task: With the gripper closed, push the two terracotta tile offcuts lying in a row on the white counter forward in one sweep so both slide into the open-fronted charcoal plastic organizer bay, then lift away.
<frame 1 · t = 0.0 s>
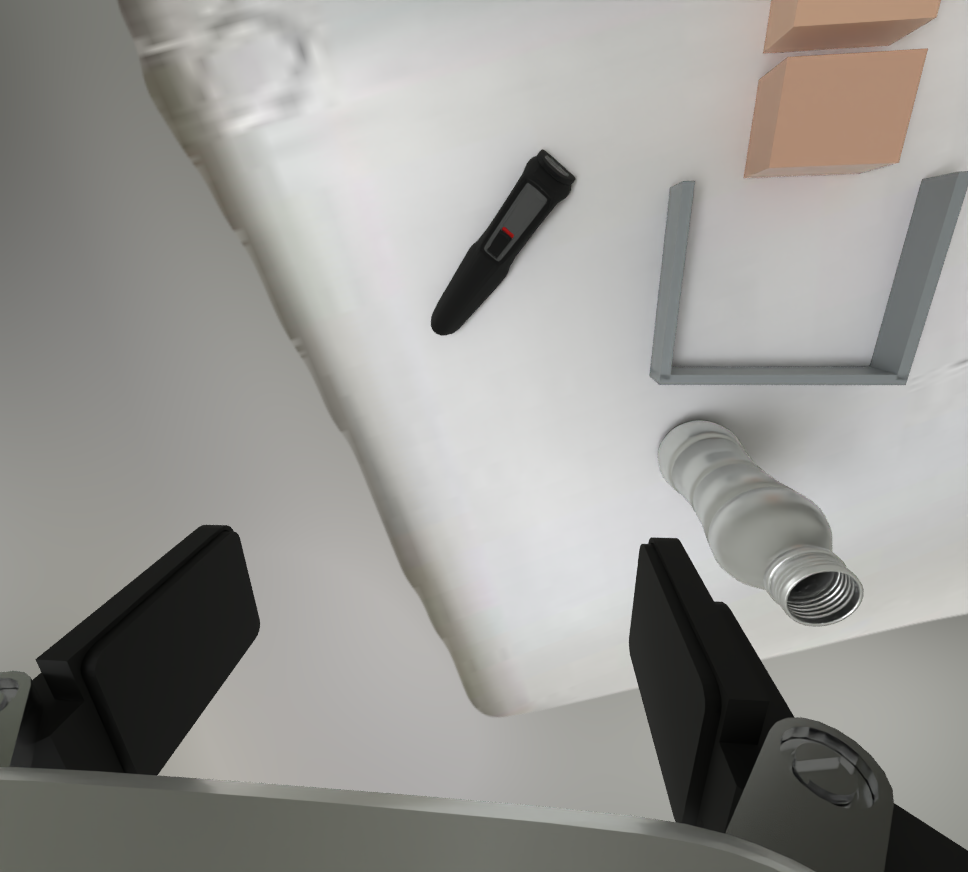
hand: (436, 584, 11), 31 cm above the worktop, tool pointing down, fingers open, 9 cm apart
plastic bottle: (688, 446, 42), on the worktop
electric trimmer: (500, 250, 37), on the worktop
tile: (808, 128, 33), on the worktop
organizer bay: (779, 283, 36), on the worktop
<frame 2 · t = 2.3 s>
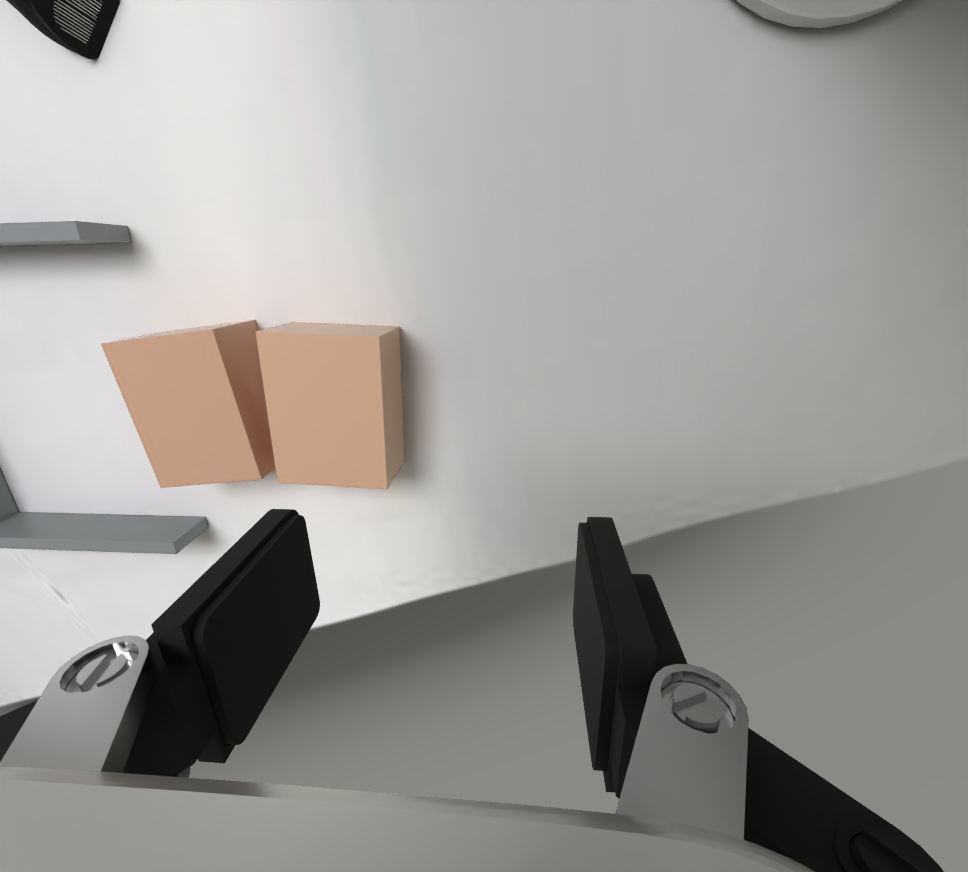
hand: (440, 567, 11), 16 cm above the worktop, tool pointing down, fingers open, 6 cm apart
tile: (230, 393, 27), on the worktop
organizer bay: (65, 394, 28), on the worktop
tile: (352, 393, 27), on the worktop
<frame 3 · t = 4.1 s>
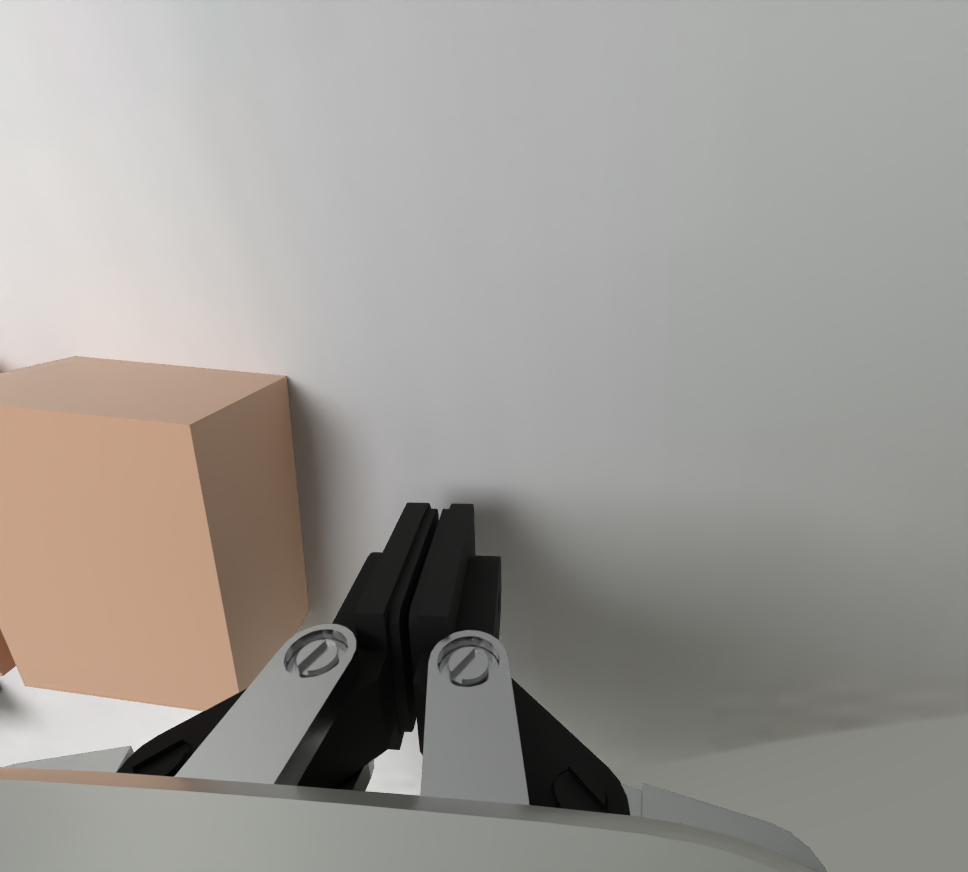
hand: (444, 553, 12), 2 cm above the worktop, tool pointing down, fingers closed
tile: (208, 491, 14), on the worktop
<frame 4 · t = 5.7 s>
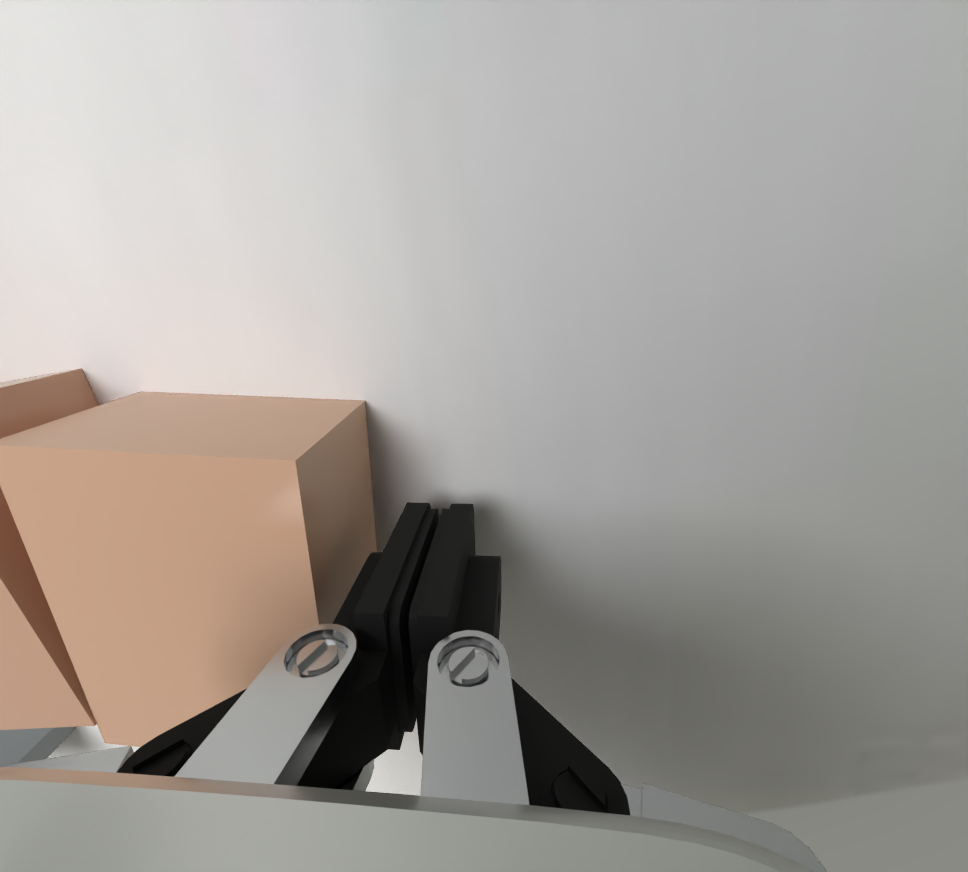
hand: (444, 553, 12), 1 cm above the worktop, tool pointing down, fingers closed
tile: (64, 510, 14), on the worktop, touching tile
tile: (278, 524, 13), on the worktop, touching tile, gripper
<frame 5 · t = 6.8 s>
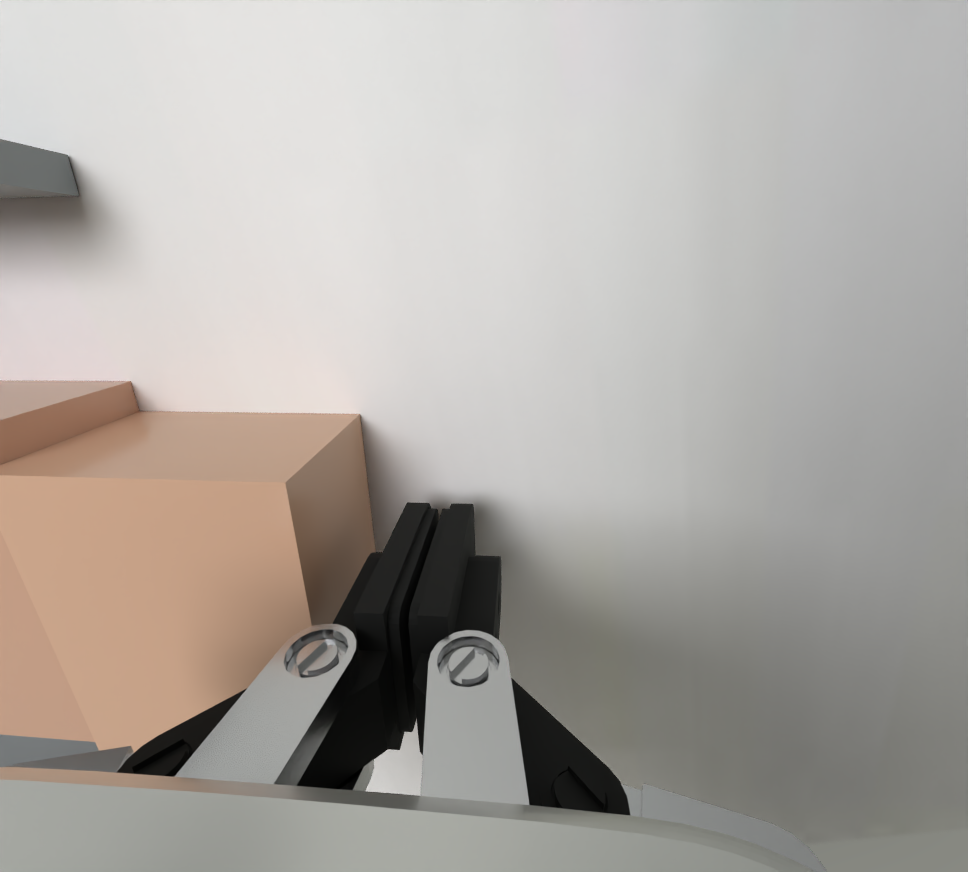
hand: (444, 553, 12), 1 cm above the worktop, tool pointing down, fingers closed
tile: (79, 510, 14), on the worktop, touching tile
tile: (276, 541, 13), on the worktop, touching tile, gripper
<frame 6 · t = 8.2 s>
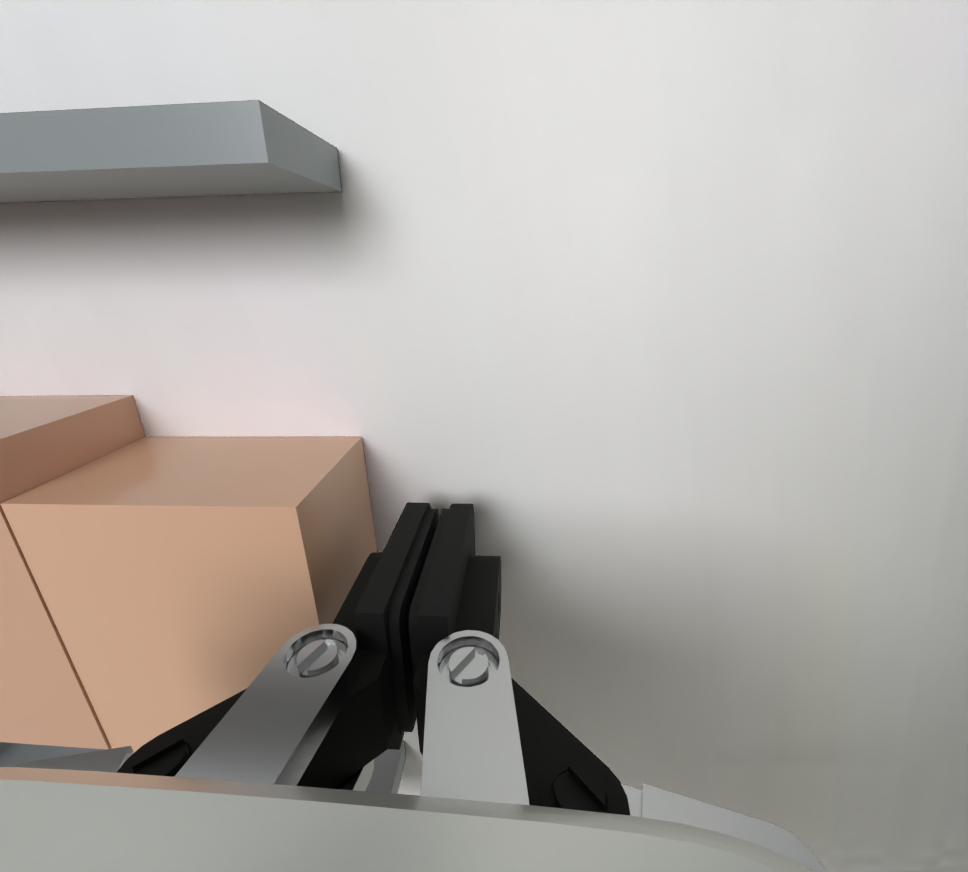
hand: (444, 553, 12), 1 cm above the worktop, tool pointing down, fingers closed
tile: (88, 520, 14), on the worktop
organizer bay: (145, 523, 13), on the worktop
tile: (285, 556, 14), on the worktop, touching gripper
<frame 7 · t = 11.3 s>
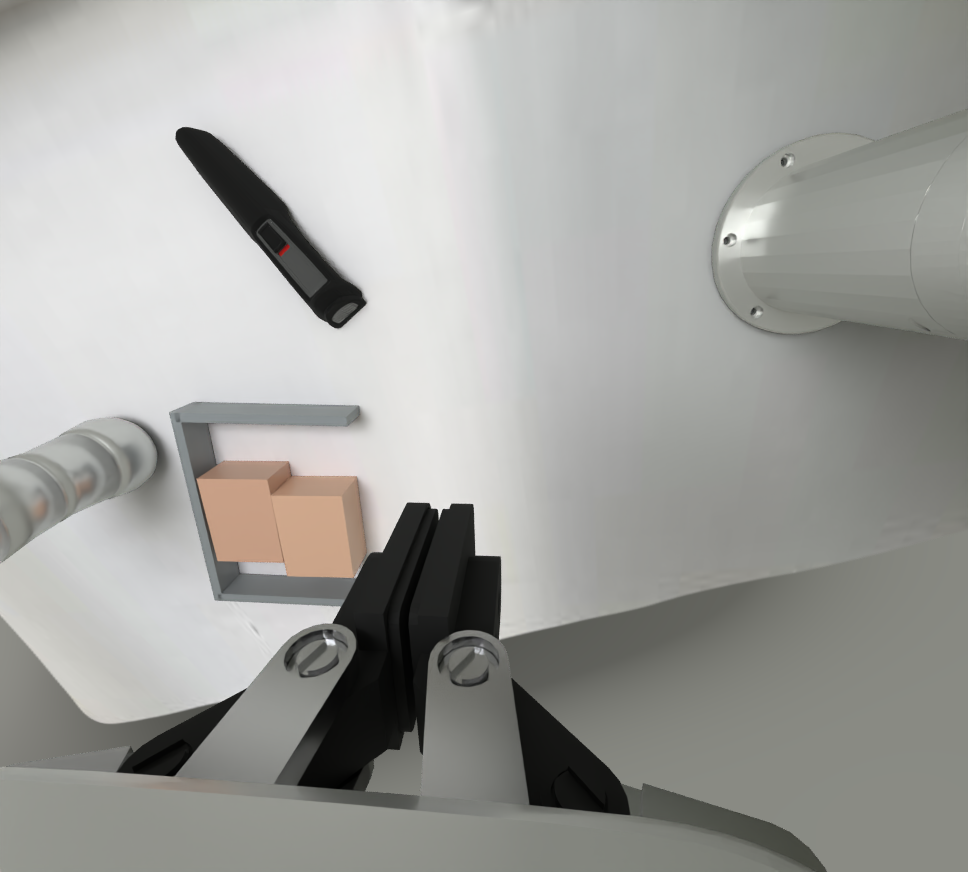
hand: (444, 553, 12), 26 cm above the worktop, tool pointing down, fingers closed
plastic bottle: (134, 444, 41), on the worktop
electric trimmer: (285, 238, 35), on the worktop
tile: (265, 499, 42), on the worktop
organizer bay: (292, 500, 42), on the worktop
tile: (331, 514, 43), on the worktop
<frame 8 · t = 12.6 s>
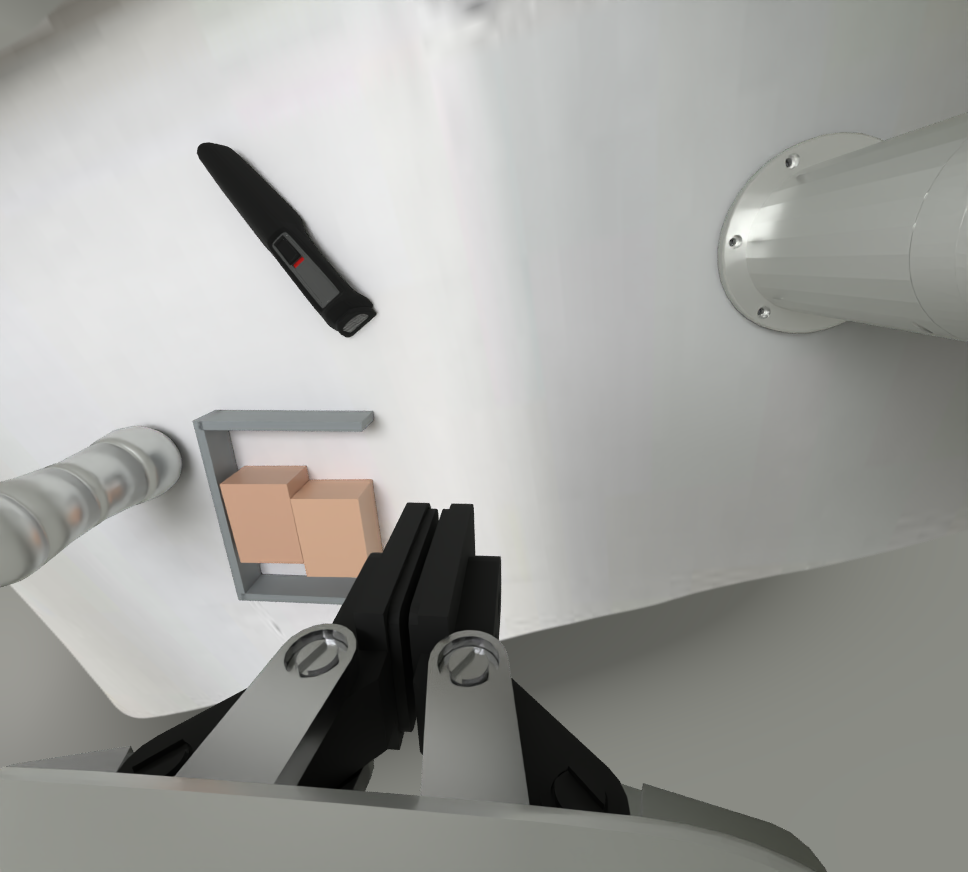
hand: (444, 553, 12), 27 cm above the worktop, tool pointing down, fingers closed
plastic bottle: (160, 451, 43), on the worktop
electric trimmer: (300, 249, 36), on the worktop
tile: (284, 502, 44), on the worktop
organizer bay: (311, 503, 43), on the worktop
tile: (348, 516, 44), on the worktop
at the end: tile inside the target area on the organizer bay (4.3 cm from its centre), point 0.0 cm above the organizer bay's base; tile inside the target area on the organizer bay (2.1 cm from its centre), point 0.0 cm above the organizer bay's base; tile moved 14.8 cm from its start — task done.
